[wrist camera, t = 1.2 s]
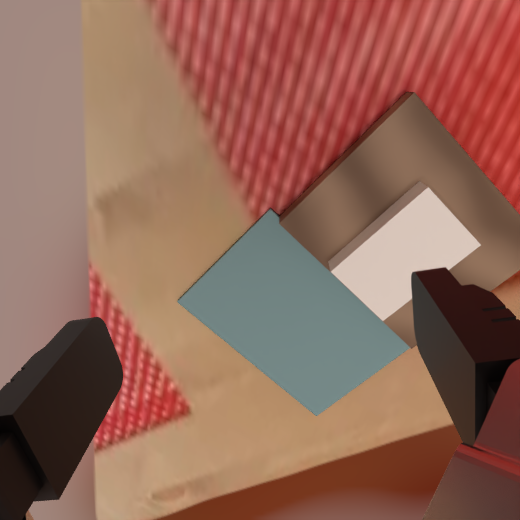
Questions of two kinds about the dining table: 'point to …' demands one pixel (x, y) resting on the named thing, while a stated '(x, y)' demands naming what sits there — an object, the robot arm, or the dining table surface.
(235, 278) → the mat
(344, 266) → the tile
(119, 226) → the dining table surface
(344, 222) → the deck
